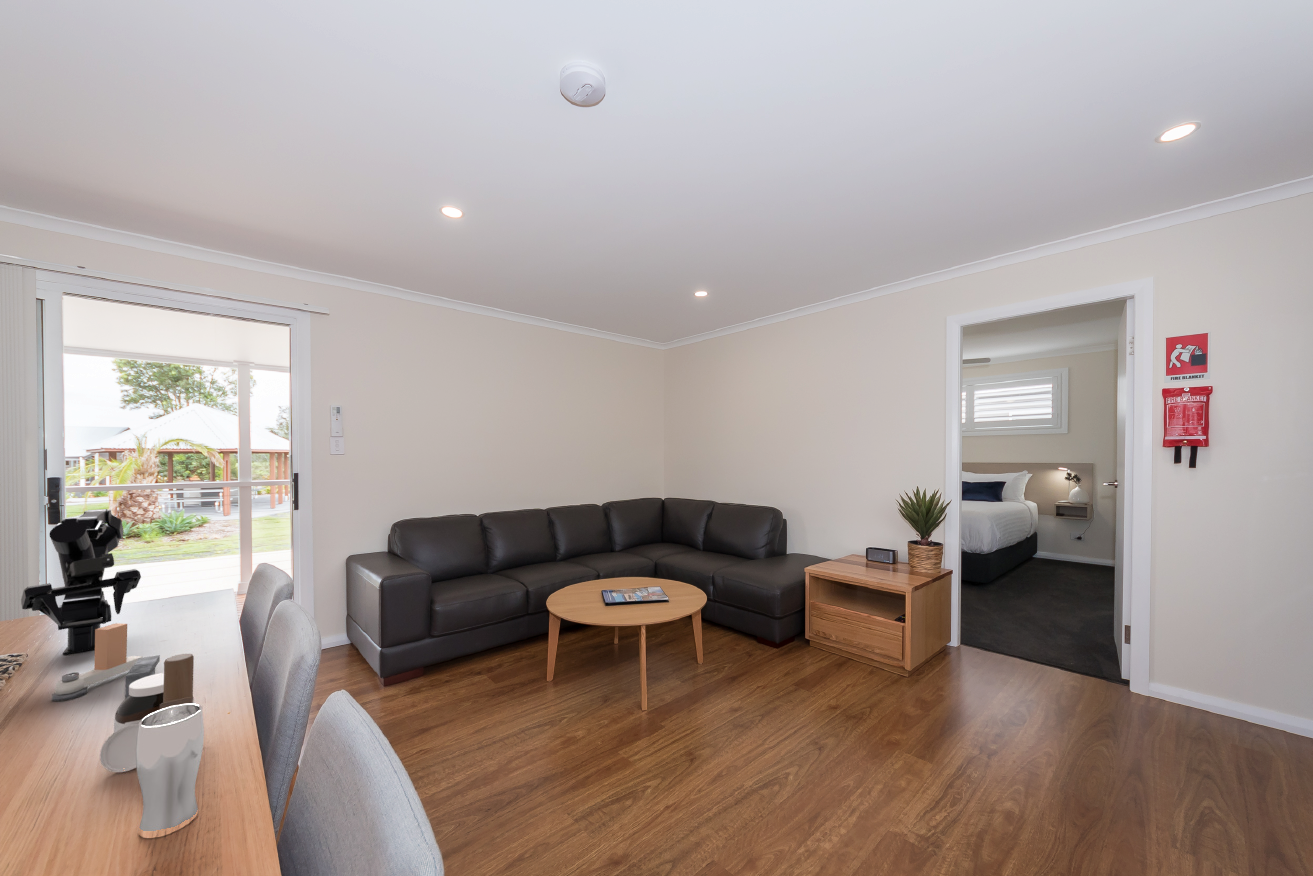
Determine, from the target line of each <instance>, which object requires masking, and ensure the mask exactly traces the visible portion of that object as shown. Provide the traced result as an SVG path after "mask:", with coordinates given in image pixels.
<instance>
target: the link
mask: <svg viewBox="0 0 1313 876" xmlns="http://www.w3.org/2000/svg"><path fill="white" fill-rule="evenodd" d="M127 648H128V623H119V622H118V623H117V622H115V623H112V624H108V625H105V626H103V627H100V628H98V629H95V649H94V662H93V663H94V666H93V667H94V669H92V670H91V669H90V670H88V671H86V672H83V673H81V674H80V673H79V678H78V679H77V680H74V681H70V682H62V679H61V680H58V681H57V682H56V683H55V692H56V694H57V695H63V694H69V693H73V692H76V691H79V690H81V689H83V688H84V687H90V686H92V685H95V684H97V683H99V682H102V681H105V680H108V679H110V678H113V677H115V676H118V675H121V674H122V673H126V672H129V671H130V669H131V668H132V666H133V665H134V664H135V662H136V661H137V660H138V658H144V656H143V655H141V656H139V655H137V656H136V655H130V656H127V653H128V652H127V650H128V649H127Z"/></svg>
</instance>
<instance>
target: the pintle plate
mask: <svg viewBox="0 0 1313 876" xmlns="http://www.w3.org/2000/svg"><path fill="white" fill-rule="evenodd" d="M79 675H80V673H79V672H71V673H66V674H64V675H62V676H61V680H62V682H70V681H74V680H77V679H78V678H79ZM88 687H89V686H87V687H84V688H83V689H81V690H79V691H76V692H73V693H69V694H63V695H57V694H56V691H55V692H54V693H52V694H51V702H54V703H55V702H56V703H57V702H65V701H70V700H74V699H77V698H80V697H83V696H85V695H87V693H88V689H89V688H88Z"/></svg>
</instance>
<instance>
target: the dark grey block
mask: <svg viewBox="0 0 1313 876" xmlns="http://www.w3.org/2000/svg"><path fill="white" fill-rule="evenodd" d="M160 656H161V655H160V654H158V655H157V654H156V655H152V656H150V655H149V656H147V657H144V656H143V658H138V660H137V661H136V662H135V664H134V665H133V666H132V668H131V669H130V670H129V671H127V673H126V674H125V684H124V685H125V688H124V690H125V691H124V700H125V699H126V698H127V697H128V696H129V685H130V684H131V683H133V682H134V681H136V680H139V679H141V678H144V677H147V676H151V675H155V674H156V669H157V666H158V665H159V663H160V661H161V660H160Z"/></svg>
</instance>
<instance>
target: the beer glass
mask: <svg viewBox="0 0 1313 876" xmlns="http://www.w3.org/2000/svg"><path fill="white" fill-rule="evenodd" d="M204 732H205V730H204V717H203V705H201V704H199V703H194V704H181V705H176V706H171V707H167V708H164V709H161V710H158V711H156V712H153V713H151V714H149V715H147V716H145V717H144V718H143V719H141V720H140V722H139V729H138V736H137V744H136V768H135V769H136V773H137V779H138V783H139V786H140V787H139V788H140V792H141V797H142V804H143V805H142V806H143V807H142V814H141V819H140V824H139V827H138V828H140V829H141V830H143V831H156V830H161V829H166V828H171V827H175V826H177V825H179V824H181V823H182V822H184V821H185V820H188V819H190V818H191V817H193V815H195V814H196V812H197V810H198V811H199V807H198V802H197V799H196V781H197V777H198V773H199V769H200V764H201V759H202V755H203V750H204V749H203V747H204V739H205V737H204V736H205V733H204Z"/></svg>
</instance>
